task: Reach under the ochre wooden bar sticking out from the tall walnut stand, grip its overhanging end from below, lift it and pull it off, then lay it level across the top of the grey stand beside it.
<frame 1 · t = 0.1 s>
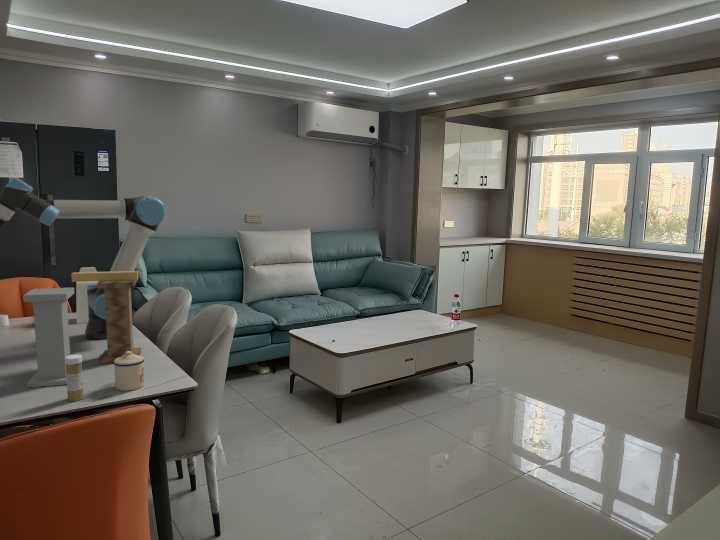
ochre bar: (105, 280, 194), point 30 cm above the table, touching walnut stand
grey stand: (55, 379, 175), on the table
walnut stand: (121, 357, 199), on the table
teacup with lid: (129, 385, 171), on the table
sprinkles bottle: (75, 399, 159), on the table
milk: (90, 320, 257), on the table
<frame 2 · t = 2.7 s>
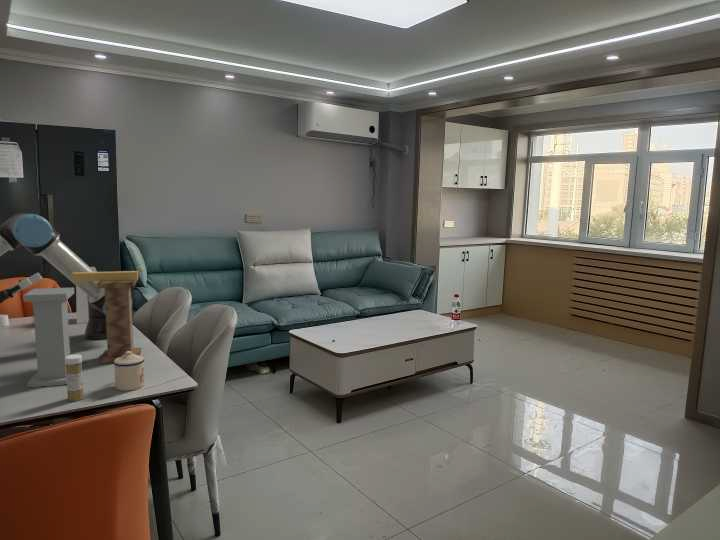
hand: (35, 278, 187), 31 cm above the table, tool pointing upward, fingers open, 13 cm apart
nothing on the table moved.
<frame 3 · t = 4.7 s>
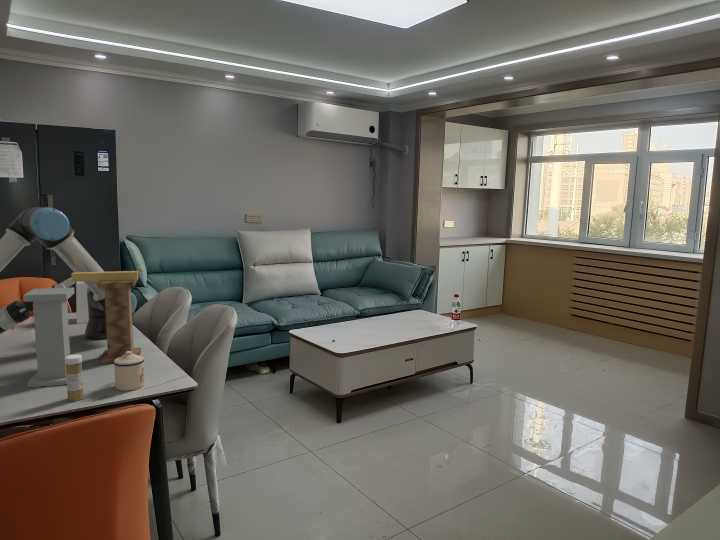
hand: (68, 283, 190), 29 cm above the table, tool pointing upward, fingers open, 13 cm apart
nothing on the table moved.
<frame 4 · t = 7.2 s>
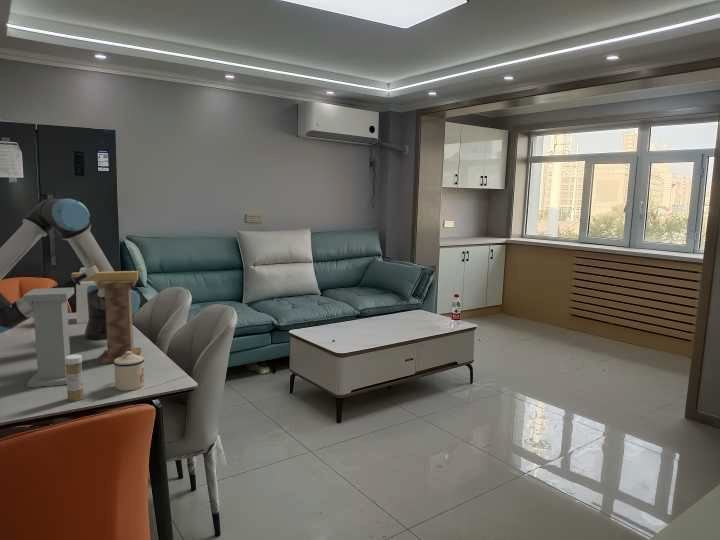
hand: (95, 269, 192), 34 cm above the table, tool pointing upward, fingers closed on ochre bar, 3 cm apart
ochre bar: (105, 280, 194), point 30 cm above the table, touching gripper, walnut stand
everything else where it was.
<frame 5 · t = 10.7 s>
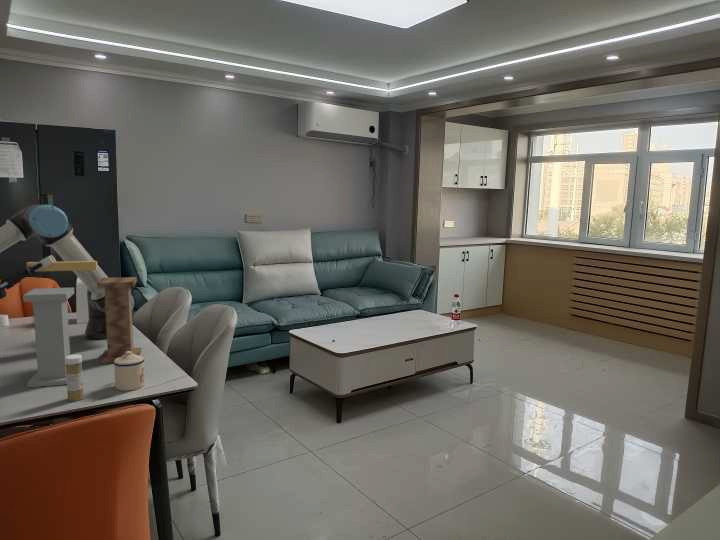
hand: (52, 258, 187), 38 cm above the table, tool pointing upward, fingers closed on ochre bar, 3 cm apart
ochre bar: (63, 270, 189), point 34 cm above the table, touching gripper
everything else where it was.
when the fingers open (35 cm above the table, at t = 14.2 s): ochre bar drops 1 cm, resting on grey stand.
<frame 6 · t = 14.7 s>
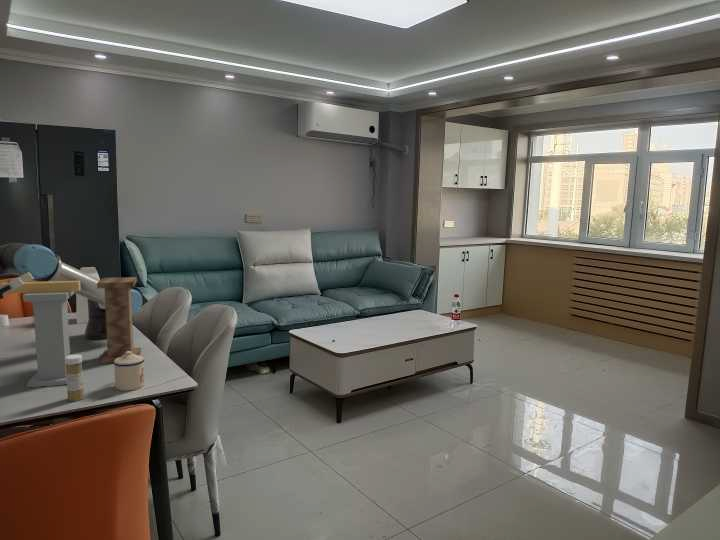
hand: (26, 277, 168), 35 cm above the table, tool pointing upward, fingers open, 10 cm apart
ochre bar: (42, 291, 170), point 30 cm above the table, touching grey stand
everything else where it was.
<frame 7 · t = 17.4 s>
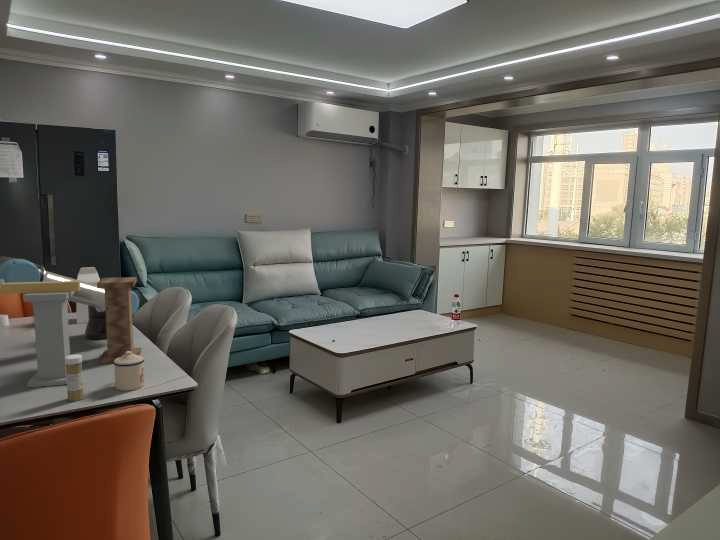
nothing on the table moved.
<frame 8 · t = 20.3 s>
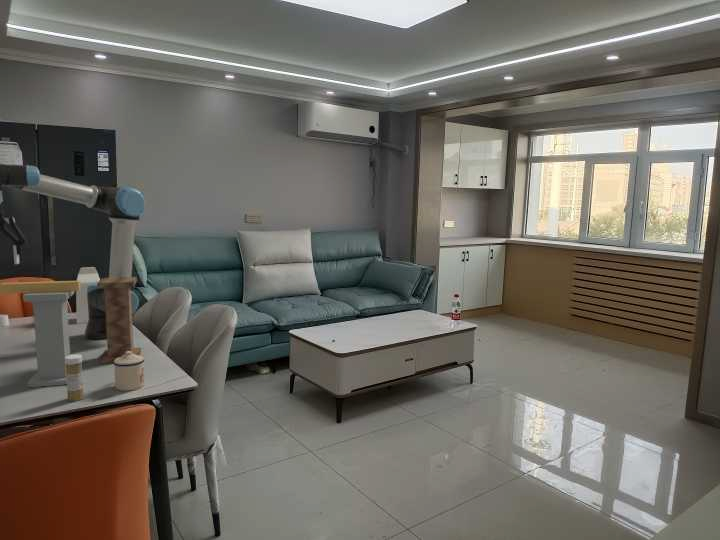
nothing on the table moved.
at the end: ochre bar inside the target area on the grey stand (1.4 cm from its centre), point 30.0 cm above the grey stand's base; ochre bar tilted 0°; the gripper is holding nothing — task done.
